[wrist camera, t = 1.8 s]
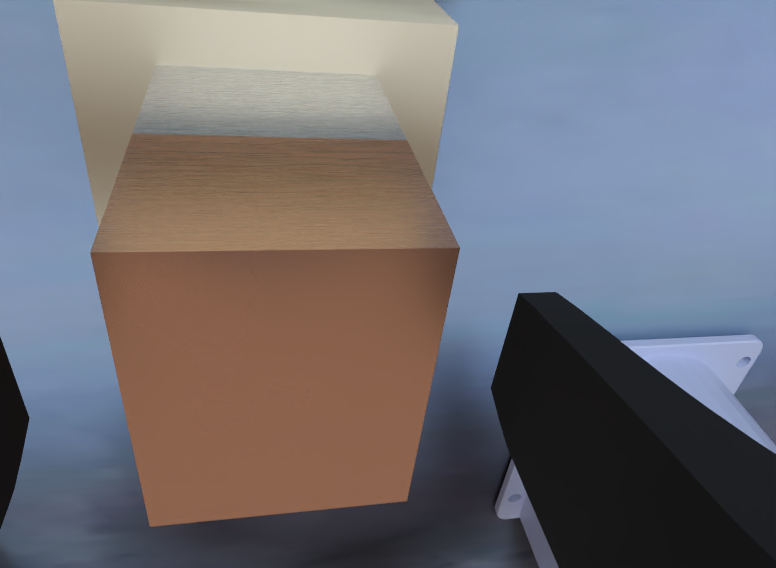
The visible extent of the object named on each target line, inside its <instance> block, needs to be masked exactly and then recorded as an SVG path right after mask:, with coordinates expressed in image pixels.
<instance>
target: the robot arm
mask: <svg viewBox="0 0 776 568" xmlns="http://www.w3.org/2000/svg"><path fill="white" fill-rule="evenodd" d="M762 348H763V344H762V342H761V341H760V340H759V339H758V338H757V337H756V336H755V335H731V336H710V337H689V338H669V339H648V340H627V341H620V340H618V339H617V338H616V337H615V336H613V335H612V334H611V333H609V332H608V331H607V330H606V329H604V328H603V327H602V326H601V325H599V324H598V323H597V322H595V321H594V320H593V319H592V318H590V317H589V316H588V315H586V314H585V313H584V312H583V311H581V310H580V309H579V308H577V307H576V306H575V305H573V304H572V303H570V302H569V301H568V300H566V299H565V298H563V297H562V296H561V295H559V294H558V293H556V292H544V293H519V294H518V297H517V301H516V304H515V307H514V311H513V314H512V318H511V321H510V324H509V328H508V331H507V335H506V338H505V341H504V345H503V348H502V352H501V355H500V358H499V362H498V365H497V369H496V372H495V375H494V379H493V382H492V386H491V390H492V394H493V398H494V402H495V406H496V409H497V413H498V417H499V421H500V424H501V427H502V431H503V434H504V437H505V441H506V444H507V447H508V450H509V452H510V455H511V457H512V459H511V462H510V465H509V468H508V471H507V473H506V476H505V479H504V482H503V485H502V487H501V490H500V493H499V496H498V499H497V502H496V504H495V511H496V514H497V516H498V517H499V518H501V519H512V518H520V519H521V522H522V525H523V527H524V530H525V532H526V535H527V538H528V540H529V543H530V545H531V548H532V550H533V553H534V556H535V558H536V561H537V563H538V566H539V568H776V445H775V444H774V443H773V442H772V441H771V439H770V438H769V437H768V436H767V435H766V433H765V432H764V431H763V430H762V429H761V427H760V426H759V425H758V424H757V423H756V421H755V420H754V419H753V418H752V417H751V415H750V414H749V413H748V412H747V411H746V409H745V408H744V407H743V406H742V405H741V403H740V402H739V401H738V400H737V399H736V397H735V396H734V393H735V392H736V390H737V389H738V387H739V385H740V384H741V382H742V381H743V379H744V377H745V376H746V374H747V373H748V371H749V370H750V368H751V366H752V365H753V363H754V362H755V360H756V358H757V357H758V355H759V354H760V352H761V350H762ZM28 423H29V416H28V413H27V410H26V407H25V405H24V402H23V399H22V396H21V393H20V391H19V388H18V385H17V382H16V379H15V377H14V374H13V371H12V368H11V366H10V363H9V360H8V357H7V354H6V352H5V349H4V346H3V343H2V340H1V338H0V529H1V526H2V523H3V520H4V517H5V515H6V512H7V509H8V506H9V503H10V500H11V497H12V494H13V491H14V488H15V484H16V479H17V475H18V471H19V466H20V462H21V458H22V453H23V448H24V443H25V438H26V433H27V428H28Z"/></svg>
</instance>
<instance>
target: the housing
mask: <svg viewBox="0 0 776 568" xmlns="http://www.w3.org/2000/svg"><path fill="white" fill-rule="evenodd" d="M459 250H460V247H459V245H458V243H457V241H456V239H455V237H454V235H453V233H452V231H451V229H450V227H449V225H448V222H447V220H446V218H445V216H444V214H443V212H442V210H441V208H440V206H439V204H438V202H437V200H436V198H435V196H434V194H433V192H432V190H431V188H430V186H429V184H428V182H427V179H426V177H425V175H424V173H423V171H422V169H421V167H420V165H419V163H418V161H417V159H416V157H415V155H414V153H413V151H412V149H411V147H410V145H409V143H408V141H407V139H406V137H405V134H404V132H403V130H402V128H401V126H400V124H399V122H398V120H397V118H396V116H395V114H394V112H393V110H392V108H391V106H390V104H389V102H388V100H387V98H386V96H385V94H384V91H383V89H382V87H381V85H380V83H379V81H378V79H377V77H376V75H362V74H341V73H319V72H298V71H277V70H256V69H234V68H213V67H192V66H170V65H156V67H155V70H154V73H153V75H152V78H151V81H150V84H149V87H148V90H147V92H146V95H145V98H144V101H143V104H142V107H141V110H140V112H139V115H138V118H137V121H136V124H135V127H134V130H133V132H132V135H131V138H130V141H129V144H128V147H127V149H126V152H125V155H124V158H123V161H122V164H121V167H120V169H119V172H118V175H117V178H116V181H115V184H114V187H113V189H112V192H111V195H110V198H109V201H108V204H107V206H106V209H105V212H104V215H103V218H102V221H101V224H100V226H99V229H98V232H97V235H96V238H95V241H94V243H93V246H92V249H91V252H90V253H91V258H92V263H93V267H94V272H95V276H96V281H97V286H98V290H99V295H100V299H101V304H102V309H103V313H104V318H105V322H106V327H107V332H108V336H109V341H110V345H111V350H112V355H113V359H114V364H115V368H116V373H117V378H118V382H119V387H120V391H121V396H122V401H123V405H124V410H125V414H126V419H127V424H128V428H129V433H130V437H131V442H132V447H133V451H134V456H135V460H136V465H137V470H138V474H139V479H140V483H141V488H142V493H143V497H144V502H145V506H146V511H147V516H148V520H149V525H150V527H153V526H163V525H173V524H183V523H193V522H203V521H213V520H223V519H233V518H243V517H253V516H263V515H273V514H283V513H293V512H303V511H313V510H323V509H333V508H343V507H353V506H363V505H373V504H383V503H393V502H403V501H407V498H408V493H409V489H410V484H411V479H412V474H413V470H414V465H415V460H416V455H417V450H418V446H419V441H420V436H421V431H422V427H423V422H424V417H425V412H426V407H427V403H428V398H429V393H430V388H431V384H432V379H433V374H434V369H435V364H436V360H437V355H438V350H439V345H440V341H441V336H442V331H443V326H444V322H445V317H446V312H447V307H448V302H449V298H450V293H451V288H452V283H453V279H454V274H455V269H456V264H457V259H458V255H459Z"/></svg>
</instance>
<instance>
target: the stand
mask: <svg viewBox="0 0 776 568" xmlns="http://www.w3.org/2000/svg"><path fill="white" fill-rule="evenodd" d="M53 2H54V7H55V12H56V17H57V22H58V27H59V32H60V37H61V42H62V47H63V52H64V57H65V62H66V67H67V72H68V77H69V82H70V87H71V92H72V97H73V102H74V107H75V112H76V116H77V121H78V126H79V131H80V136H81V141H82V146H83V151H84V156H85V161H86V166H87V171H88V176H89V181H90V186H91V191H92V196H93V201H94V206H95V211H96V216H97V221H98V226H100V224H101V221H102V218H103V215H104V212H105V209H106V206H107V204H108V201H109V198H110V195H111V192H112V189H113V187H114V184H115V181H116V178H117V175H118V172H119V169H120V167H121V164H122V161H123V158H124V155H125V152H126V149H127V147H128V144H129V141H130V138H131V135H132V132H133V130H134V127H135V124H136V121H137V118H138V115H139V112H140V110H141V107H142V104H143V101H144V98H145V95H146V92H147V90H148V87H149V84H150V81H151V78H152V75H153V73H154V70H155V67H156V65H170V66H192V67H213V68H234V69H256V70H277V71H298V72H319V73H341V74H362V75H376V77H377V79H378V81H379V83H380V85H381V87H382V89H383V91H384V94H385V96H386V98H387V100H388V102H389V104H390V106H391V108H392V110H393V112H394V114H395V116H396V118H397V120H398V122H399V124H400V126H401V128H402V130H403V132H404V134H405V137H406V139H407V141H408V143H409V145H410V147H411V149H412V151H413V153H414V155H415V157H416V159H417V161H418V163H419V165H420V167H421V169H422V171H423V173H424V175H425V177H426V179H427V182H428V184H429V186H430V188H431V190H432V184H433V178H434V172H435V166H436V160H437V154H438V148H439V142H440V136H441V130H442V124H443V118H444V112H445V106H446V100H447V94H448V88H449V82H450V76H451V70H452V64H453V58H454V52H455V46H456V40H457V34H458V28H459V25H458V24H457V23H456V22H455V21H454V20H453V19H452V18H451V17H450V16H449V15H448V14H447V13H446V12H445V11H444V10H443V9H442V8H441V7H440V6H439V5H438V4H437V3H436V2H435V1H434V0H53Z"/></svg>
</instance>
